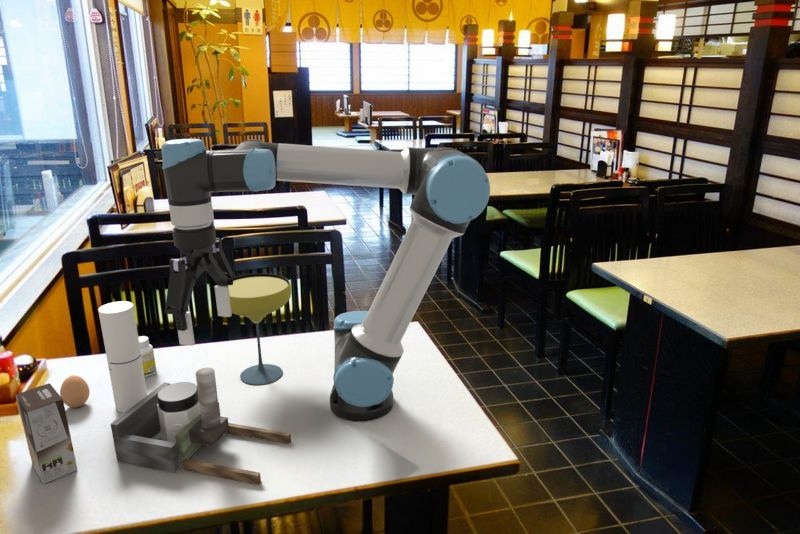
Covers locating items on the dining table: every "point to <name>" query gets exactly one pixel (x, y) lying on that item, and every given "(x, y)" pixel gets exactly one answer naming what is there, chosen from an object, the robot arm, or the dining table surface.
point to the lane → (144, 451)
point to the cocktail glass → (259, 314)
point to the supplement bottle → (147, 356)
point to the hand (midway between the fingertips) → (207, 329)
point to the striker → (203, 418)
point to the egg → (74, 391)
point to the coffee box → (47, 432)
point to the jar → (177, 408)
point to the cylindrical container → (123, 354)
